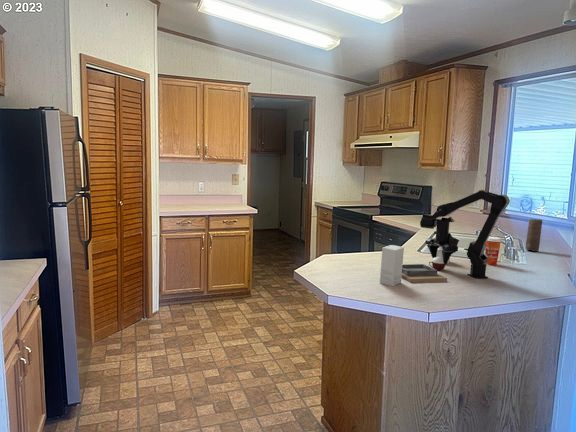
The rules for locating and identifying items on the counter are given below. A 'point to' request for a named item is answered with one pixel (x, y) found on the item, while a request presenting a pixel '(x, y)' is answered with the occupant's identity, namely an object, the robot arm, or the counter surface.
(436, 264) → the cocoa
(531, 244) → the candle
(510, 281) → the counter surface
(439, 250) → the medicine bottle
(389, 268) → the skincare box
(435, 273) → the tray stand
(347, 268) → the counter surface
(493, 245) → the paper cup
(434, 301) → the counter surface
